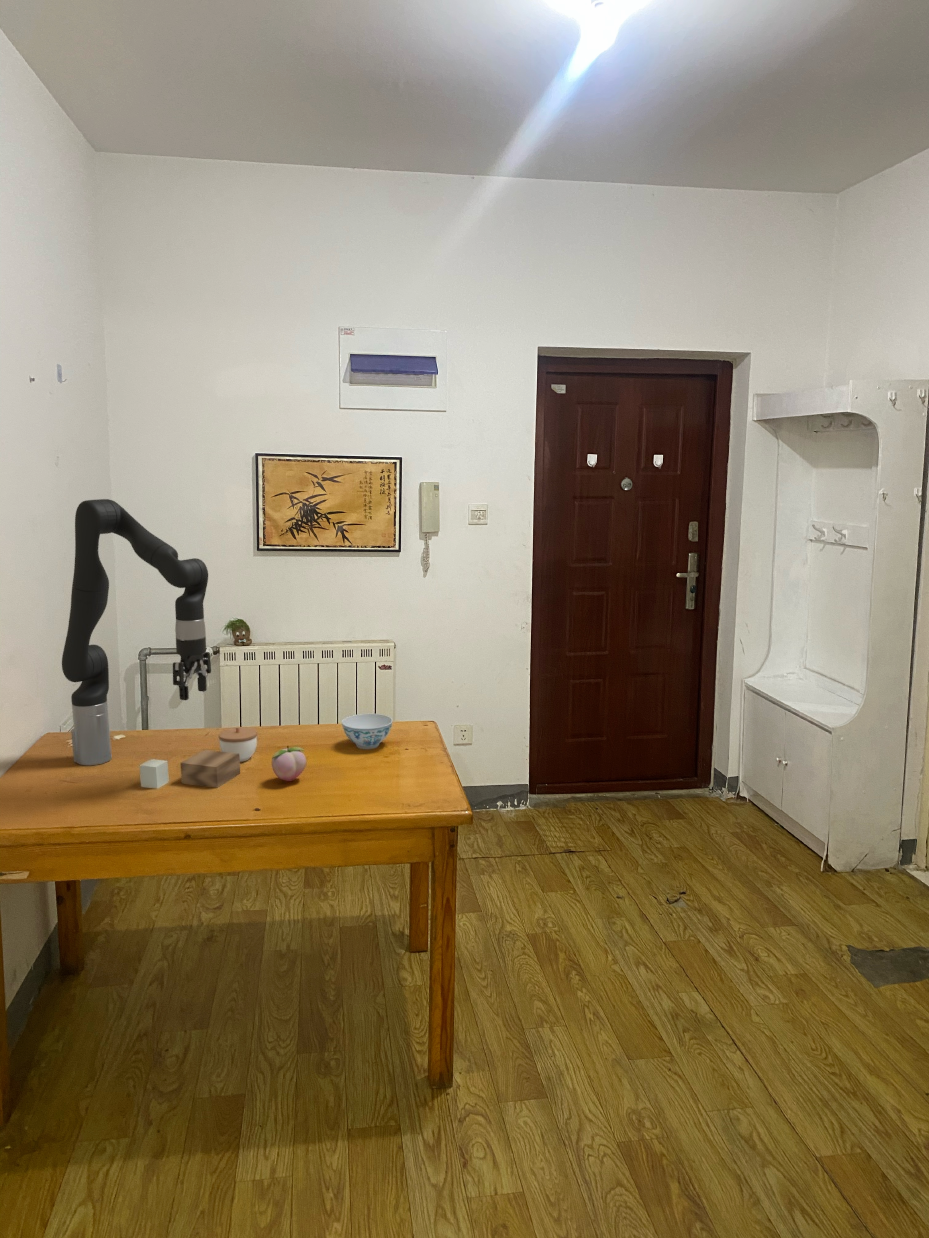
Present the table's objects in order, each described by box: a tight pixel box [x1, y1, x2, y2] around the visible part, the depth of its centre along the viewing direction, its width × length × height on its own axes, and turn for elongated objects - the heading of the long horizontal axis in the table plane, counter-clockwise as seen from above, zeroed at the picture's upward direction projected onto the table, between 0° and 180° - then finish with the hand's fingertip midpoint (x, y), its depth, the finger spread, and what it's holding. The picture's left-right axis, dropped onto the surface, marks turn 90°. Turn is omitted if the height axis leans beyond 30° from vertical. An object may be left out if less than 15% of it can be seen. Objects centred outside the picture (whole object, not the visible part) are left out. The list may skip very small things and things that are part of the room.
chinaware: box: [341, 713, 393, 750], centre depth 266 cm, size 15×15×8 cm
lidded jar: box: [218, 726, 258, 763], centre depth 255 cm, size 11×11×9 cm
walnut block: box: [180, 749, 241, 789], centre depth 240 cm, size 11×11×6 cm
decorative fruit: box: [271, 745, 307, 782], centre depth 238 cm, size 9×8×10 cm
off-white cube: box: [139, 758, 170, 790], centre depth 236 cm, size 5×5×6 cm
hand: (193, 695), depth 236 cm, fingers open, 8 cm apart
